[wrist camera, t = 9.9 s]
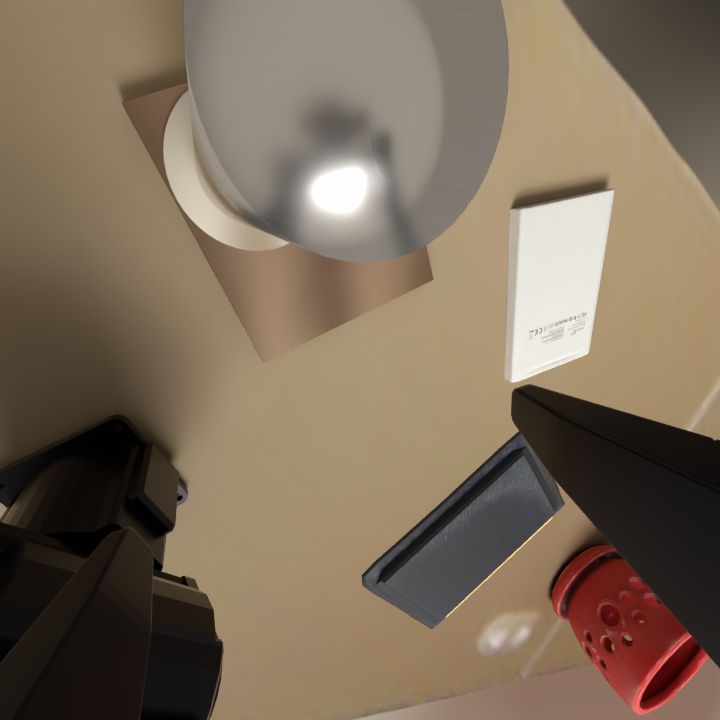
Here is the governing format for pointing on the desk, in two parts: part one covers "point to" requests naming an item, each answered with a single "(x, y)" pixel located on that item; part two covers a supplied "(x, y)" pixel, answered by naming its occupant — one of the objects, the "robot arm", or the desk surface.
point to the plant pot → (626, 629)
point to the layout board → (264, 247)
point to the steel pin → (345, 116)
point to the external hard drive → (554, 280)
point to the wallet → (467, 535)
